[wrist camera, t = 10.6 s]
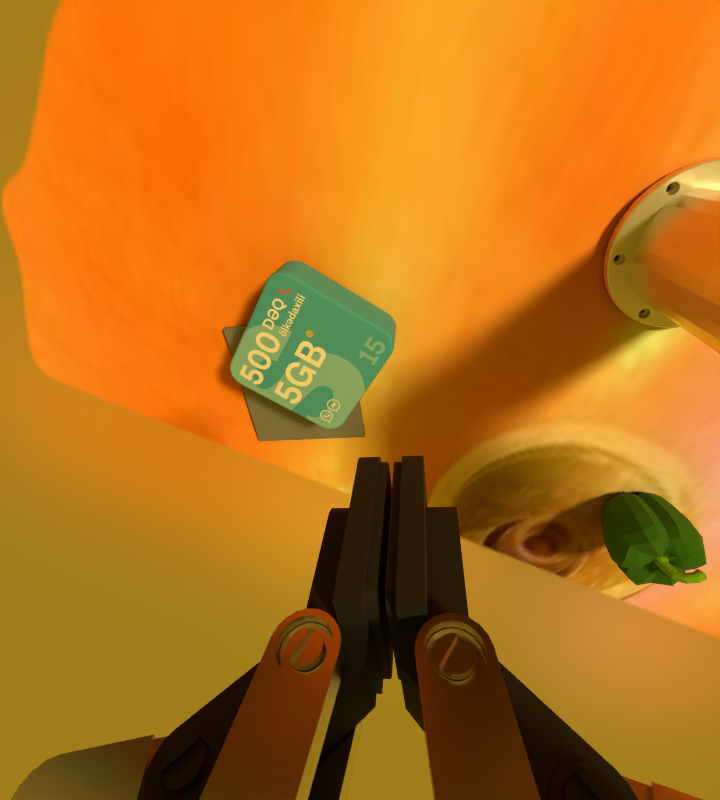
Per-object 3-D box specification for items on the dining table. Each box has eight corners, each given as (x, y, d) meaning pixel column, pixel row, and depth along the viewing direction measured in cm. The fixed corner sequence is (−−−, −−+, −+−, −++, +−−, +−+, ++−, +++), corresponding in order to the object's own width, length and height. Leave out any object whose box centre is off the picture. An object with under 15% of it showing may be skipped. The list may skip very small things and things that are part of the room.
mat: (346, 316, 39) (345, 318, 39) (364, 434, 46) (364, 436, 46) (224, 327, 41) (222, 329, 41) (260, 438, 48) (259, 441, 48)
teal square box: (335, 435, 40) (223, 376, 38) (342, 410, 44) (241, 355, 42) (401, 340, 34) (273, 264, 32) (402, 321, 38) (288, 252, 36)
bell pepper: (584, 530, 50) (617, 608, 42) (597, 480, 46) (637, 555, 37) (659, 532, 49) (710, 612, 40) (679, 480, 45) (741, 558, 36)
